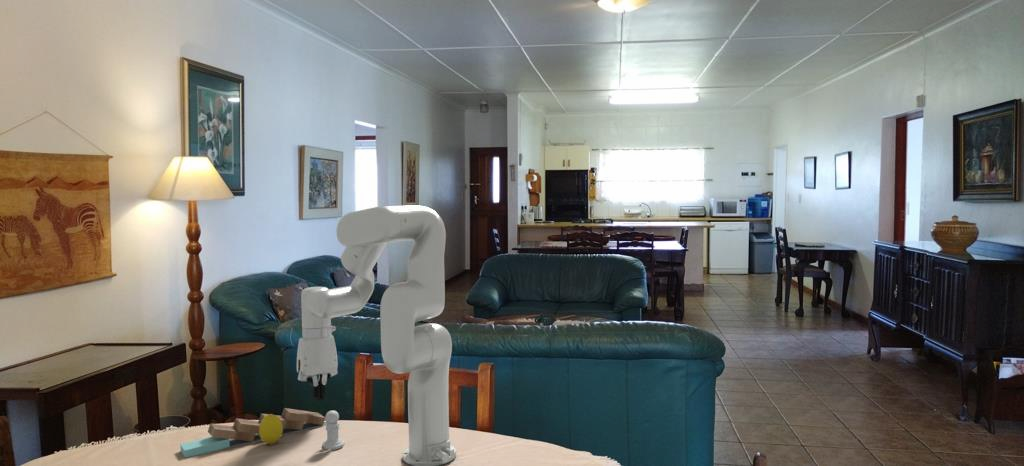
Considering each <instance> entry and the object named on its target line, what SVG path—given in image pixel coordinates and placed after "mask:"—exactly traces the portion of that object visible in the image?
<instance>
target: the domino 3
mask: <svg viewBox="0 0 1024 466" xmlns="http://www.w3.org/2000/svg"><path fill="white" fill-rule="evenodd" d="M269 414H270V413H269ZM269 414H268V413H260V416H259V419H258V421H259V422H260V423H261V421H262V419H263V418H264V417H266V416H268V415H269ZM275 415H276V416H277V417H279V418H280V420H281V422H282V426H283V428H286V429H296V430H302V428H303V424H304V422H297V421H289V420H287V419H286V418H284V417H283V416H282V415H277V414H275Z"/></svg>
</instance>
